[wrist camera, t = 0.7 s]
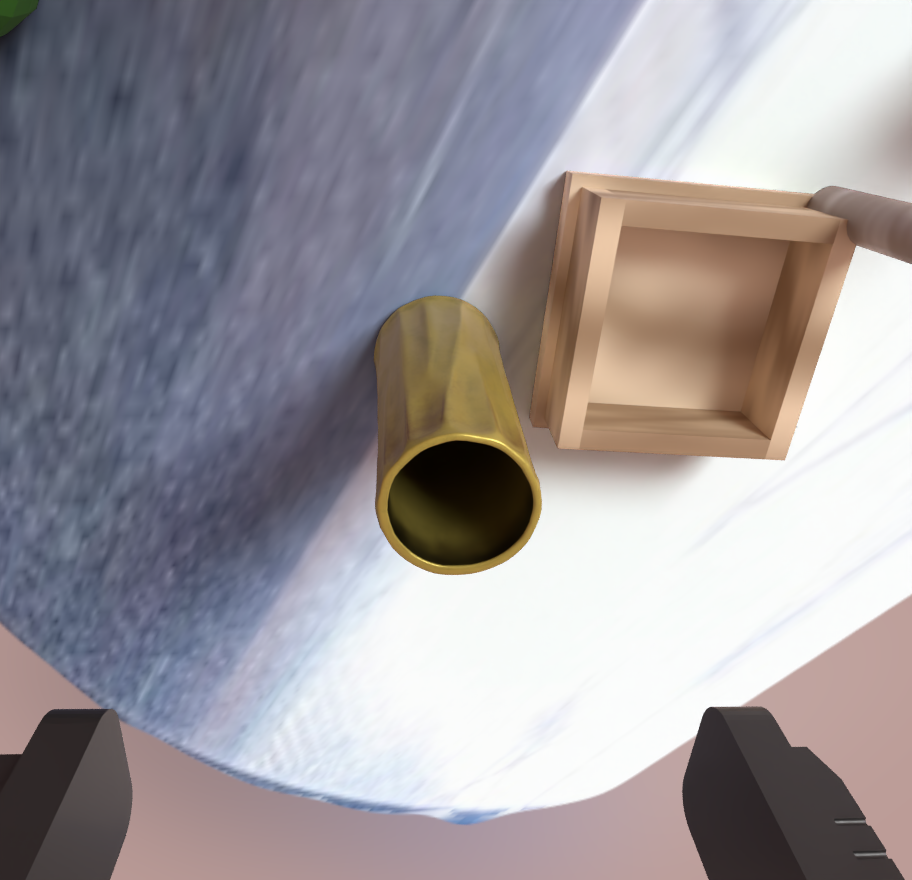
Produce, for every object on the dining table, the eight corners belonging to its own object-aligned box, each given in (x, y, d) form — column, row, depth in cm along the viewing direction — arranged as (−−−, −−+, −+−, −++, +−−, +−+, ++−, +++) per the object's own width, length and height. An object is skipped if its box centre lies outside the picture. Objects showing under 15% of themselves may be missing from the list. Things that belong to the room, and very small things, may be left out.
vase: (437, 267, 33) (461, 379, 20) (524, 354, 35) (596, 504, 23) (348, 357, 35) (320, 513, 22) (438, 435, 37) (459, 618, 24)
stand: (568, 158, 31) (671, 201, 20) (840, 184, 33) (1090, 239, 21) (529, 417, 37) (591, 572, 25) (764, 430, 38) (928, 583, 26)
